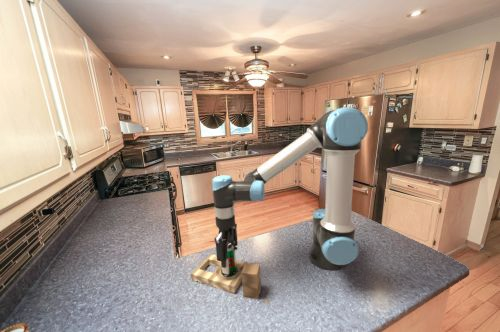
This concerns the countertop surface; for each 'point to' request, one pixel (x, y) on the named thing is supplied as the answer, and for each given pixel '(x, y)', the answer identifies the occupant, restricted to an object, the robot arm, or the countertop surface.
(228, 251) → the soda can
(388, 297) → the countertop surface
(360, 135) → the robot arm
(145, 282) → the countertop surface
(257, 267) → the walnut square peg
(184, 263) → the countertop surface
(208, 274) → the socket board
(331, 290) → the countertop surface
